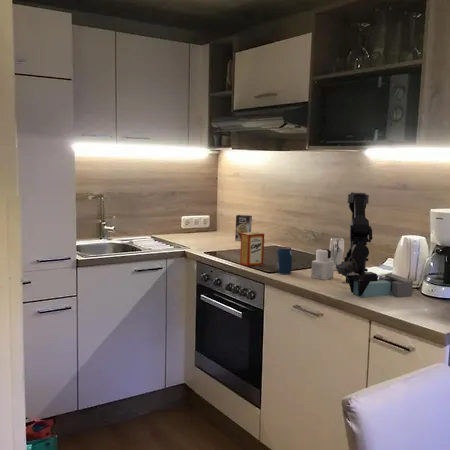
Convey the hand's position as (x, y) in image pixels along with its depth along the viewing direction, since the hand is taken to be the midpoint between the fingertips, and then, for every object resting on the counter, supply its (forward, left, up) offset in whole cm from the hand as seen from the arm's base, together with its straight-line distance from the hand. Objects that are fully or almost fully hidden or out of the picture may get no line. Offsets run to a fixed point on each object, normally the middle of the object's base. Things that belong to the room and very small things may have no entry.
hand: (356, 294), depth 211 cm
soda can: (-48, -8, -2) cm, 49 cm away
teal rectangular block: (0, +7, 0) cm, 7 cm away
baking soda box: (-70, -15, -2) cm, 72 cm away
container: (-36, +6, -2) cm, 36 cm away
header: (0, +18, -2) cm, 18 cm away
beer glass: (-50, +21, -2) cm, 54 cm away
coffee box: (-141, +9, -2) cm, 141 cm away
